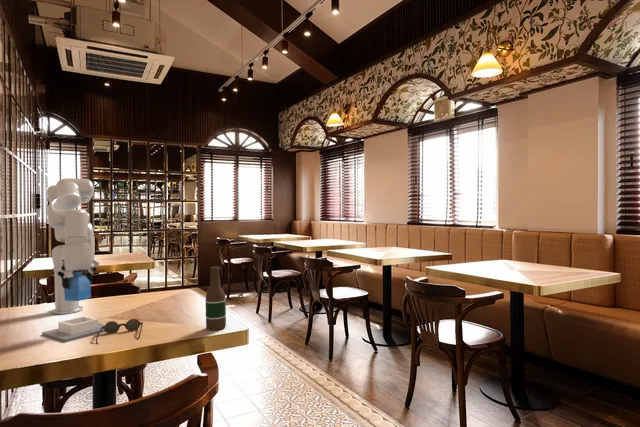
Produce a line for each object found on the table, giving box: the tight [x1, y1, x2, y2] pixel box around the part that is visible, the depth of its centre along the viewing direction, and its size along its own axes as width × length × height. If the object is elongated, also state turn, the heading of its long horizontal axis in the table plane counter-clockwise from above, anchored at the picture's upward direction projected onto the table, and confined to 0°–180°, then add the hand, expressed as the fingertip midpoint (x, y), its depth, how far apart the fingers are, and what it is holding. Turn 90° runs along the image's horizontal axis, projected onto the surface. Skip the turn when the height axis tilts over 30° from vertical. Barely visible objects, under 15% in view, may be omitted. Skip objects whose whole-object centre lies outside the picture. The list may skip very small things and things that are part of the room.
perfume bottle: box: [64, 270, 92, 302], centre depth 157 cm, size 6×6×12 cm
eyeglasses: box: [95, 318, 144, 345], centre depth 150 cm, size 15×15×5 cm
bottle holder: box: [41, 315, 107, 343], centre depth 157 cm, size 18×18×4 cm
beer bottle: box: [205, 266, 227, 332], centre depth 158 cm, size 8×8×24 cm
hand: (77, 286), depth 157 cm, fingers closed on perfume bottle, 8 cm apart
